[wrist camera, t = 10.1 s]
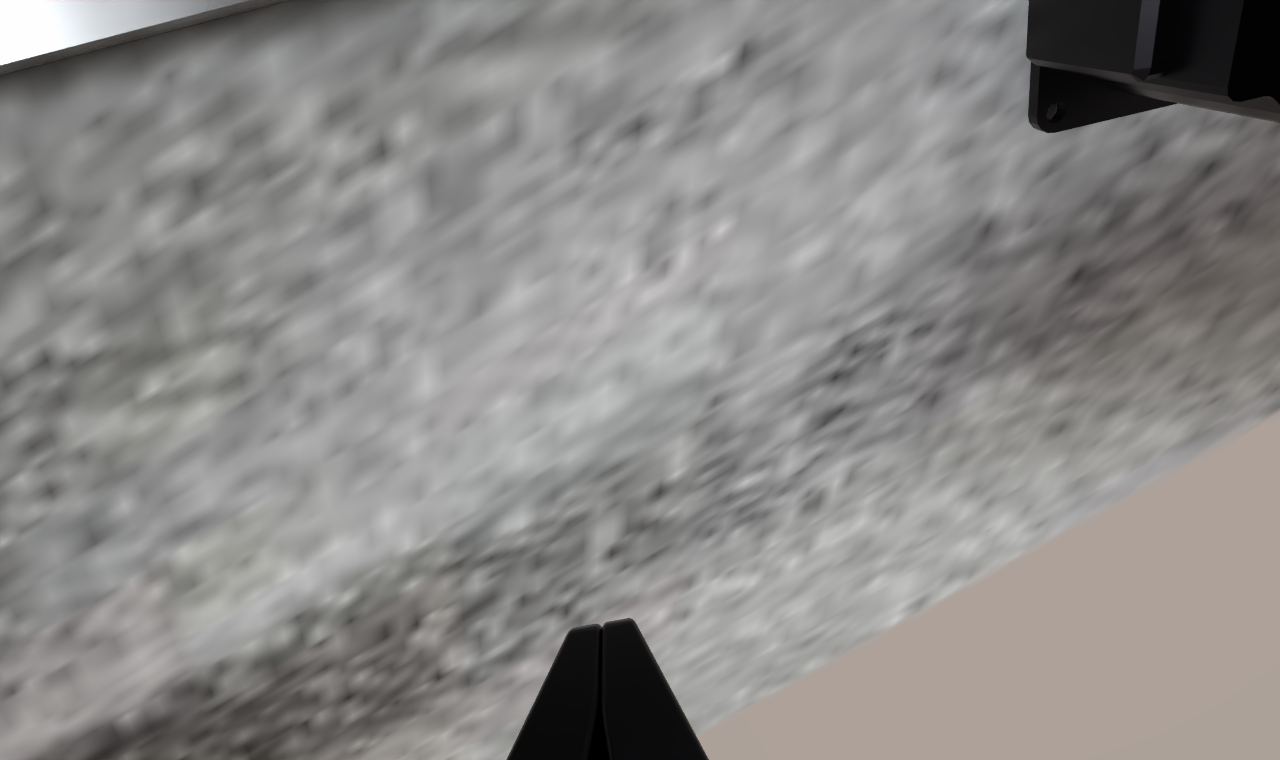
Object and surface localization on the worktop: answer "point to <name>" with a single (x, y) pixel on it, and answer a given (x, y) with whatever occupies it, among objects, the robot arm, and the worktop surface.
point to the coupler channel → (96, 25)
